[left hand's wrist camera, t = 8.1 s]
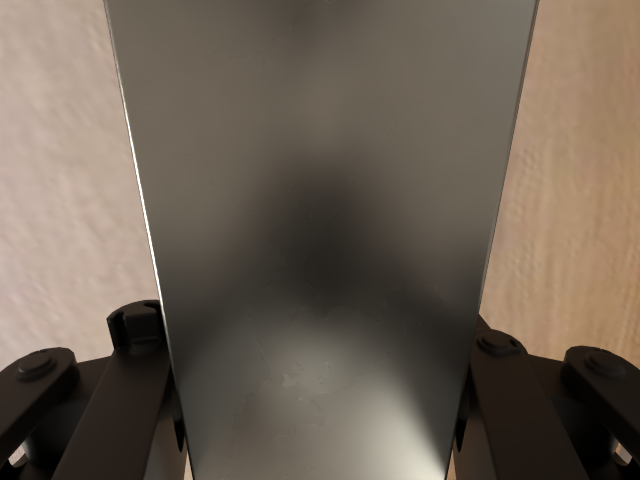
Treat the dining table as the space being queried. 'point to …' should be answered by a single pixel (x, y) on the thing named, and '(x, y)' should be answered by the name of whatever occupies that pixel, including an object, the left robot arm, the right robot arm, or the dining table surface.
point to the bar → (320, 218)
